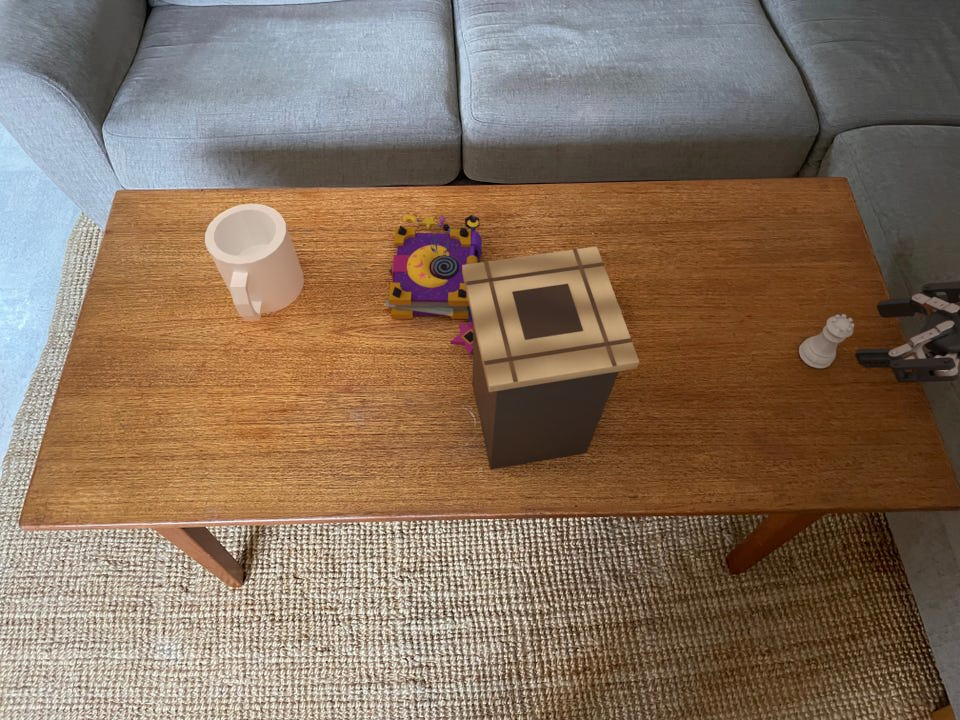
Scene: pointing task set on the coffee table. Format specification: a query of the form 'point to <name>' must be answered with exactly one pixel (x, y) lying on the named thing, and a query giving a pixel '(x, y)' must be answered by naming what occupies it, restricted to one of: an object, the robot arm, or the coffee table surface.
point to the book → (434, 273)
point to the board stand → (538, 416)
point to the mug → (255, 259)
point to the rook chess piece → (826, 342)
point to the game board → (547, 319)
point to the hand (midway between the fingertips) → (868, 333)
